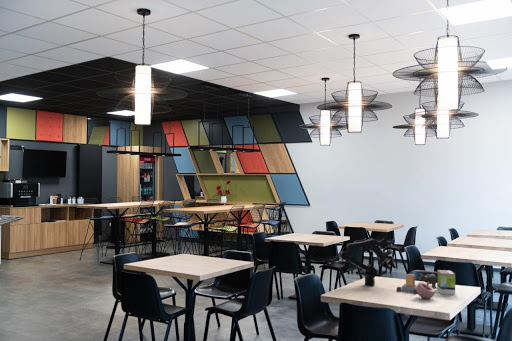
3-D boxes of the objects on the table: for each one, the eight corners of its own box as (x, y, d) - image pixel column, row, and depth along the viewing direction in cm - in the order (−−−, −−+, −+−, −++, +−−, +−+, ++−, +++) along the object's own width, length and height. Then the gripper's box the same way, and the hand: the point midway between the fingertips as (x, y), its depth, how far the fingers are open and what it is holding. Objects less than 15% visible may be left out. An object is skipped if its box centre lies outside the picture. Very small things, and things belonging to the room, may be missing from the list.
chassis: (395, 290, 343) (395, 285, 343) (403, 287, 355) (403, 282, 355) (418, 293, 333) (418, 288, 333) (424, 290, 345) (424, 285, 345)
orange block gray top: (405, 289, 344) (405, 274, 344) (408, 288, 347) (407, 273, 347) (412, 290, 341) (412, 275, 341) (414, 289, 344) (414, 274, 344)
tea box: (455, 295, 330) (455, 273, 331) (440, 294, 332) (440, 273, 333) (451, 290, 345) (451, 269, 346) (436, 289, 347) (436, 269, 348)
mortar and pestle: (433, 301, 311) (433, 284, 311) (414, 299, 317) (414, 281, 318) (437, 298, 321) (437, 281, 321) (419, 295, 327) (418, 279, 328)
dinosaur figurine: (436, 284, 365) (436, 270, 365) (446, 286, 357) (445, 271, 358) (417, 288, 353) (417, 272, 353) (427, 290, 346) (427, 274, 346)
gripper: (381, 247, 352) (396, 263, 345) (390, 244, 367) (405, 260, 360) (371, 256, 356) (385, 273, 349) (381, 254, 371) (395, 269, 364)
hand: (393, 268), depth 356 cm, fingers open, 9 cm apart
